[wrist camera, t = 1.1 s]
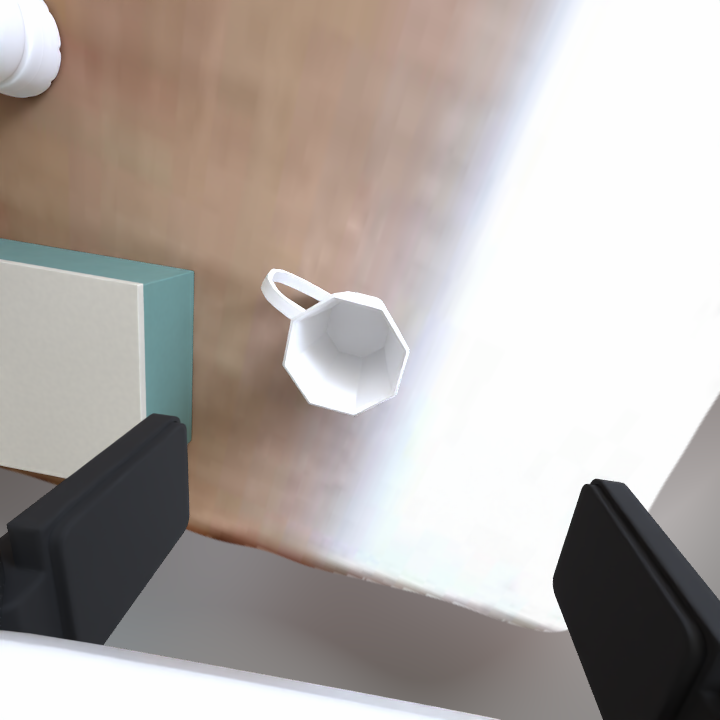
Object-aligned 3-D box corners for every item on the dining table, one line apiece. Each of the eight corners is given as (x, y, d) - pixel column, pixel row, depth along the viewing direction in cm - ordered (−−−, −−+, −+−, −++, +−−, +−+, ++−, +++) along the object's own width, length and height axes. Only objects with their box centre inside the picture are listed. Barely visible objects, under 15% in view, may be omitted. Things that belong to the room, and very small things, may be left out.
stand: (-17, 233, 31) (-130, 239, 25) (196, 269, 31) (137, 285, 24) (8, 408, 36) (-81, 451, 30) (192, 443, 35) (143, 496, 29)
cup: (370, 386, 32) (358, 440, 25) (259, 306, 31) (211, 336, 23) (430, 313, 30) (437, 347, 22) (313, 224, 29) (279, 228, 21)
